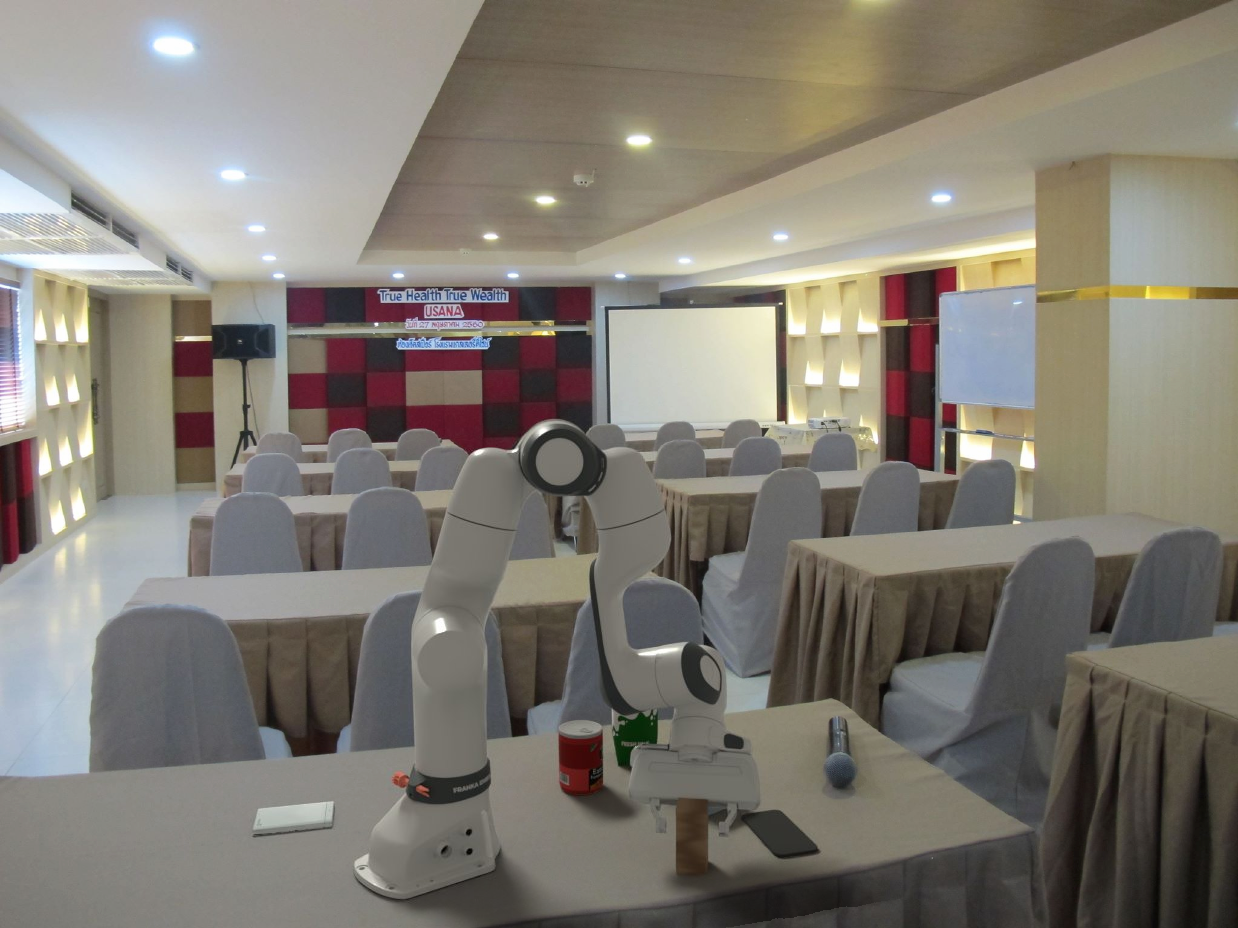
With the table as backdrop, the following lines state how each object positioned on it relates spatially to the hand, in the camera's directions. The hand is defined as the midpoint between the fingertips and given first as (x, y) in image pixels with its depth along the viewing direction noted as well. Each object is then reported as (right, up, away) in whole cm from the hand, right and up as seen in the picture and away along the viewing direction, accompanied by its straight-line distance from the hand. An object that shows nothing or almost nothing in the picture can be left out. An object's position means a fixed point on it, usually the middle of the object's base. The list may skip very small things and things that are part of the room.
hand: (692, 833), depth 151 cm
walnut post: (0, -5, +1) cm, 6 cm away
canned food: (-18, -3, +30) cm, 35 cm away
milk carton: (-8, -1, +43) cm, 43 cm away
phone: (+15, -5, +12) cm, 19 cm away
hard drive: (-65, -5, +18) cm, 68 cm away
